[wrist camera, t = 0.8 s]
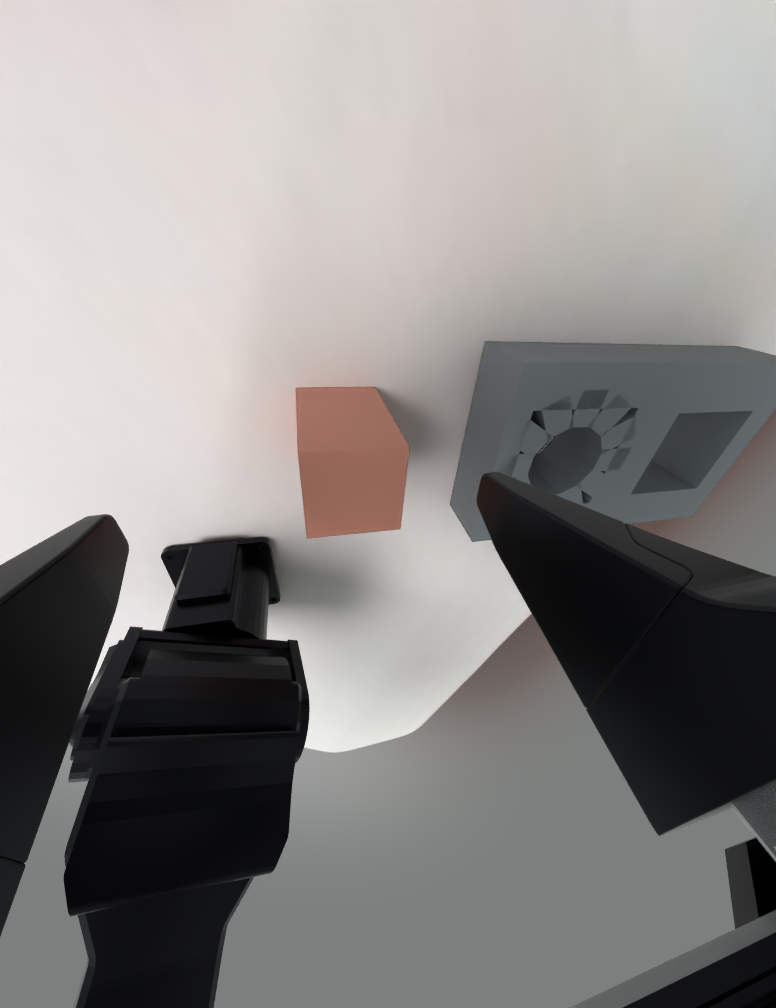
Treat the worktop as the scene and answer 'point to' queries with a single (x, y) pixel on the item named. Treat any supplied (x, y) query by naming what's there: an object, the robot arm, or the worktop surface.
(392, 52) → the worktop surface
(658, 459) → the socket block
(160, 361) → the worktop surface
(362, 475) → the square peg
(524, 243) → the worktop surface
